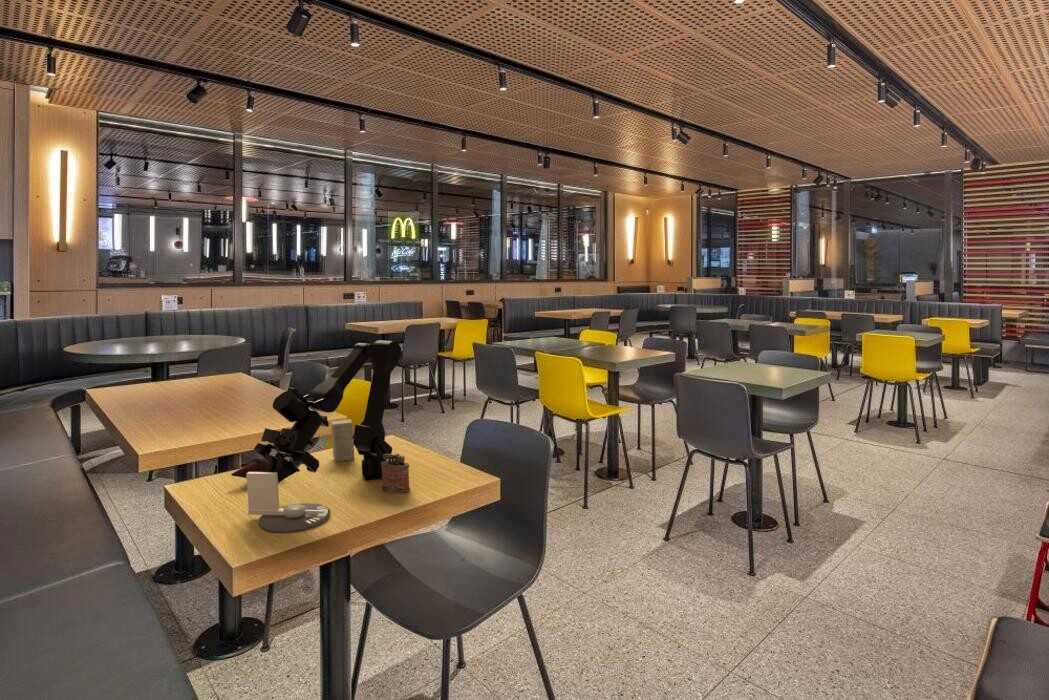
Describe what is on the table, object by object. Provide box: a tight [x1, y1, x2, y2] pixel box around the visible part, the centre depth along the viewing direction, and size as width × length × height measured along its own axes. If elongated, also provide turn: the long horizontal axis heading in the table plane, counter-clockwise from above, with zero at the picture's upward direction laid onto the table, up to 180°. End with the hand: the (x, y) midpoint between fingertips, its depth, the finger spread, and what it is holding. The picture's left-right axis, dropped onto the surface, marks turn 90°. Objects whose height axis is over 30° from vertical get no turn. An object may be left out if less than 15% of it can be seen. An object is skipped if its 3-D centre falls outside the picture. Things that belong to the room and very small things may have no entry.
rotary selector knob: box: [246, 472, 324, 518], centre depth 146 cm, size 18×5×10 cm, turn 86°
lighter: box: [381, 453, 411, 494], centre depth 165 cm, size 8×3×10 cm, turn 71°
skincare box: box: [330, 418, 356, 462], centre depth 193 cm, size 6×4×12 cm
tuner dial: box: [258, 502, 331, 534], centre depth 147 cm, size 16×16×1 cm
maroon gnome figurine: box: [231, 457, 269, 479], centre depth 173 cm, size 7×7×15 cm
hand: (266, 487), depth 147 cm, fingers closed
